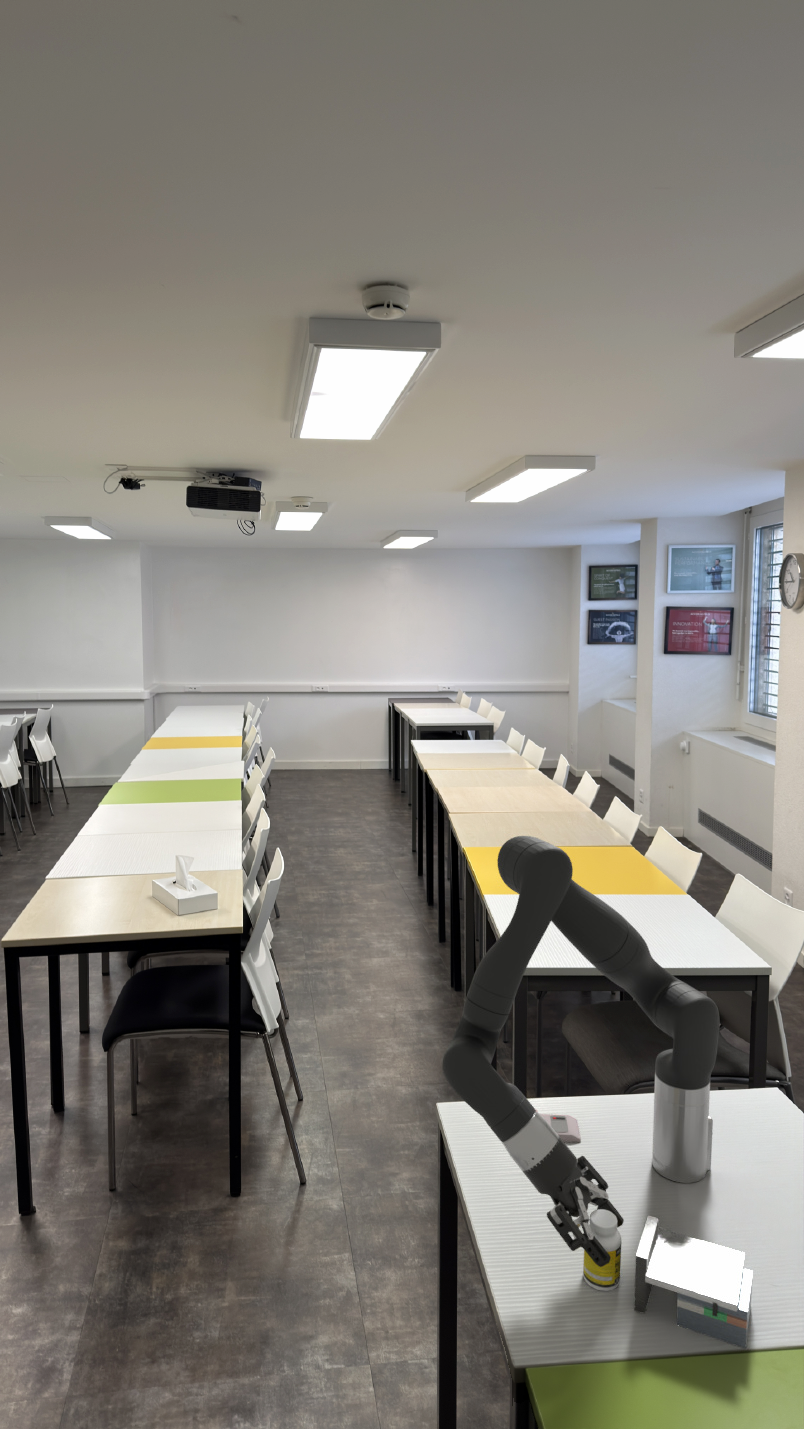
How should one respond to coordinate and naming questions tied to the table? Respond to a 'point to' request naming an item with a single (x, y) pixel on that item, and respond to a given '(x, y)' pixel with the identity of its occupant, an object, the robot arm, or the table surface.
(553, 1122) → the electrical tester
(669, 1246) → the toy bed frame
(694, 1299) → the gauge housing
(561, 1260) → the table surface
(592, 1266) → the supplement bottle
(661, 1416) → the table surface
